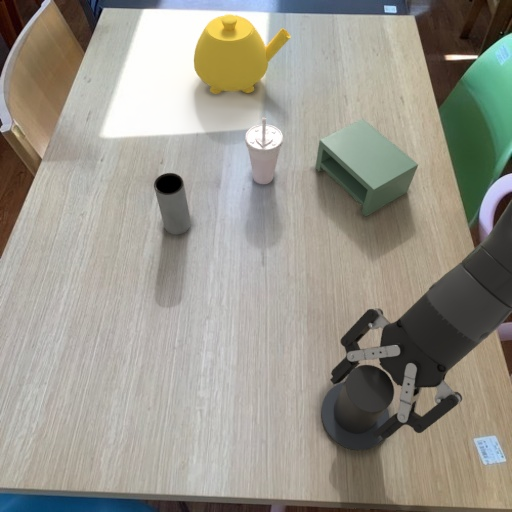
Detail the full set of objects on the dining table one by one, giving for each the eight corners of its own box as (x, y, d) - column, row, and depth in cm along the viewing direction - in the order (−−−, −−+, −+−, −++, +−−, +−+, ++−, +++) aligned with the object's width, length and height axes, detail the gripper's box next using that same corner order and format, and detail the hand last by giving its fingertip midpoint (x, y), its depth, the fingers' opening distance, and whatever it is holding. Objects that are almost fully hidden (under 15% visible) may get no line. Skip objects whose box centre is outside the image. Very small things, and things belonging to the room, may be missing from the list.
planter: (173, 239, 80) (163, 199, 71) (159, 222, 82) (148, 180, 73) (196, 226, 81) (189, 185, 72) (182, 210, 83) (173, 168, 74)
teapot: (285, 56, 108) (288, -5, 97) (290, 101, 99) (295, 39, 88) (196, 58, 107) (190, -3, 96) (194, 103, 99) (187, 42, 87)
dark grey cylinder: (383, 409, 64) (403, 385, 55) (360, 443, 61) (377, 422, 53) (349, 383, 66) (363, 355, 57) (325, 414, 63) (336, 390, 55)
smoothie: (243, 187, 86) (241, 127, 74) (248, 162, 89) (247, 101, 78) (278, 191, 85) (282, 131, 74) (282, 165, 89) (286, 104, 77)
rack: (407, 192, 86) (418, 164, 80) (365, 216, 82) (374, 189, 77) (355, 146, 92) (362, 118, 86) (315, 168, 89) (319, 139, 83)
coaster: (401, 411, 64) (402, 410, 64) (364, 465, 60) (365, 465, 60) (346, 369, 67) (346, 368, 67) (307, 418, 63) (307, 417, 63)
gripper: (514, 362, 51) (407, 450, 57) (418, 269, 58) (331, 357, 64) (503, 371, 45) (384, 469, 51) (397, 266, 52) (303, 364, 58)
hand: (355, 406), depth 58 cm, fingers open, 7 cm apart
